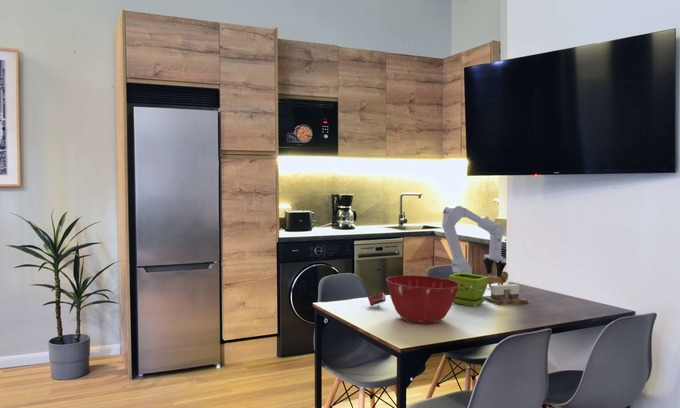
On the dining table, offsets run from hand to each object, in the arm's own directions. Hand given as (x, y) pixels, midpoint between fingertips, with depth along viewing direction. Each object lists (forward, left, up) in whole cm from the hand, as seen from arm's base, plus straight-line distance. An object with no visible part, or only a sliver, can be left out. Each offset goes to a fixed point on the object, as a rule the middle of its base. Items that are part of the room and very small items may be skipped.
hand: (494, 275), depth 275 cm
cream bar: (-6, -16, -6) cm, 18 cm away
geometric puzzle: (-71, -12, -10) cm, 73 cm away
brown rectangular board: (-6, -16, -9) cm, 20 cm away
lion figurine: (+12, +13, -10) cm, 20 cm away
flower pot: (-27, -16, -10) cm, 33 cm away
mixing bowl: (-64, -37, -10) cm, 75 cm away
